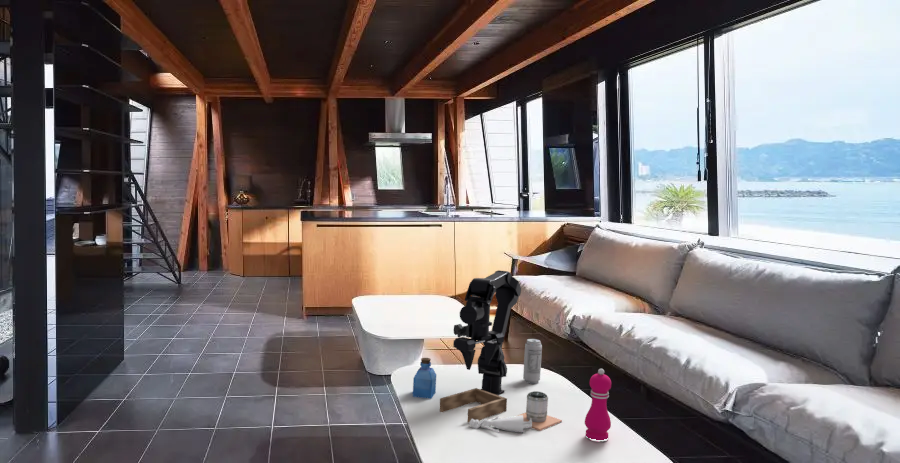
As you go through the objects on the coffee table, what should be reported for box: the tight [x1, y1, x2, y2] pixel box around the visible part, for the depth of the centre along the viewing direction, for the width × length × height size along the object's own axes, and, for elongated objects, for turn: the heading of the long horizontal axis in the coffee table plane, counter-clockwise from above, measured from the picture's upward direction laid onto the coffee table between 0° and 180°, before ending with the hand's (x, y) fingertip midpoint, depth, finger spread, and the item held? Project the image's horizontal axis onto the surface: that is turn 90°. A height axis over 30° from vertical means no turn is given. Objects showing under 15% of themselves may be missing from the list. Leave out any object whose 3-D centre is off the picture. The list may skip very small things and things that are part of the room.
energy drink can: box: [522, 338, 543, 384], centre depth 234 cm, size 6×6×15 cm
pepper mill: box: [584, 368, 612, 440], centre depth 183 cm, size 7×7×20 cm
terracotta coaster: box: [516, 412, 563, 432], centre depth 195 cm, size 11×11×1 cm
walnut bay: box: [439, 387, 508, 424], centre depth 200 cm, size 17×13×4 cm
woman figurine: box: [468, 414, 532, 434], centre depth 187 cm, size 12×4×18 cm
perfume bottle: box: [412, 357, 437, 400], centre depth 213 cm, size 6×6×12 cm
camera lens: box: [525, 390, 549, 422], centre depth 194 cm, size 6×6×8 cm
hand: (477, 366), depth 207 cm, fingers open, 9 cm apart
